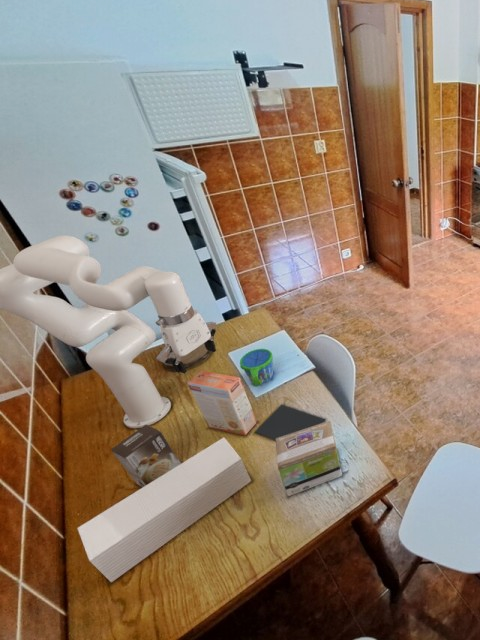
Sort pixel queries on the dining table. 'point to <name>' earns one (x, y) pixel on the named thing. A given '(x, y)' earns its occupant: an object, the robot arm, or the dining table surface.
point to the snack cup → (258, 366)
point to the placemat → (287, 422)
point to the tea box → (307, 458)
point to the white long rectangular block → (162, 509)
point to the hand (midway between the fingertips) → (197, 360)
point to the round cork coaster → (191, 358)
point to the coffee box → (146, 455)
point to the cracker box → (223, 402)
